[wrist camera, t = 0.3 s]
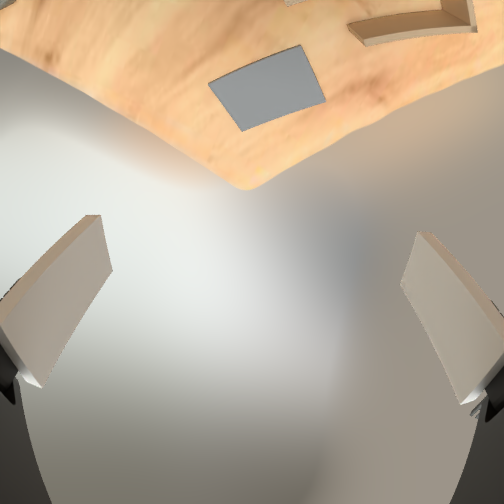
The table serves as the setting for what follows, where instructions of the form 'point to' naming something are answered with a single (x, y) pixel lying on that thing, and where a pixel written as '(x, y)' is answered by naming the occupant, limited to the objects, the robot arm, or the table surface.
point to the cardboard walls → (414, 23)
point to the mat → (269, 88)
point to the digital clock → (5, 3)
